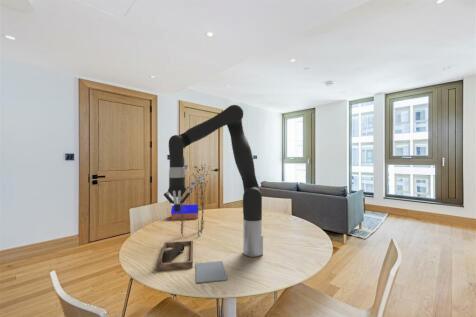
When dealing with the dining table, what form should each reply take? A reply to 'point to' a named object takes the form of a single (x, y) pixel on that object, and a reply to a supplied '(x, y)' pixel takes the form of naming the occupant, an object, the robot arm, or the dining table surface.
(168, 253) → the hand tool
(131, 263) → the dining table surface
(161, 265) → the wooden frame
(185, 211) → the house
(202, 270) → the mat
